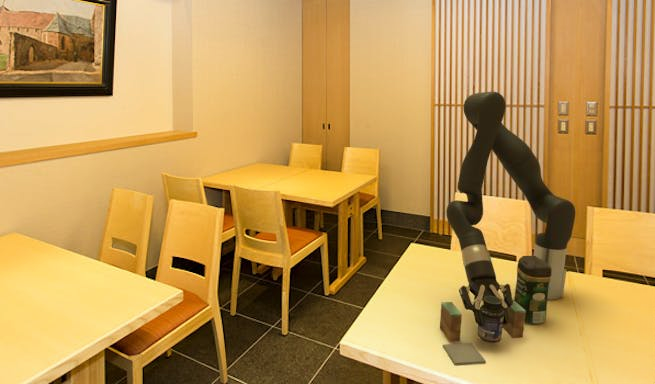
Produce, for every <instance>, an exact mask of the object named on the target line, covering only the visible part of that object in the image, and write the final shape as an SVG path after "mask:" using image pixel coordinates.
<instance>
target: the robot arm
mask: <svg viewBox="0 0 655 384" xmlns="http://www.w3.org/2000/svg"><path fill="white" fill-rule="evenodd" d="M506 105H507V104H506V100H505V97H504V96H503V95H502V94H501V93H500V92H497V91H486V92H477V93H473V94H470V95H469V96H468V97H466V99H465V101H464V103H463V113H464V114H463V115H465V118H466V120H467V121H468V122H469V123H470V125H472V127H473V128H474V129H475V130H476V133H475V137H474V139H473V141H472V144H471V145H470V148H469V149H468V151H467V153H466V154H465V157H464V158H463V160H462V163H461V166H460V167H461V168H460V171H459V176H458V182H457V190H458V191H459V192H460V193H461V194H465V195H466V199H467V201H464V200H452V201H450V202H449V204H448V205H447V207H446V210H445V211H446V212H445V213H446V214H445V215H446V217H447V218H446V219H447V221H448V223H449V225H450V227H451V229H452V230H453V232H454V234H455V236H456V237H457V239H458V242H459V247H460V251H461V258H462V259H461V260H462V265H463V267H464V271H465V274H466V278H467V279H466V280H467V283H468V285H467V286H465V285H462V286H461V287H459V288H458V293H459V296H460V298H461V301H462V304H463V307H464V309H465V310H467V311H468V310H469V311H471V312H472V313H473V316H474V321H475V323H476V324H477V326H478V325H479V326H482V325H484V321H483V317H482V313H481V310H479V309H480V307H481V305H482V302H483V298H484V297H485V296H495V297H498V298H500V299H501V300H502V307H501V308H502V309H503V311H504V319H503V325H506V324H508V323H509V321H510V318H509V314H508V311H507V308H509V307H510V306H512V305H513V300H514V299H513V295H512V290H511V289H512V288H511V285H510V284H509V283H506V284H499V282H498V281H497V275H496V272H495V268H494V264H493V261H492V257H491V254H490V253H489V250H488V247H487V243H486V240H485V236H484V233H483V232H482V230H481V229H479V228H477V227H475V226H476V225H478V224H479V223H480V222H481V220H482V219H483V216H484V203H483V184H484V180H485V175H486V170H487V166H488V161H489V158H490V155H491V152H493V154H494V155H495V156H496V157H497V159H498V161H499V162H500V163H501V165H502V166H503V168H504V169H505V171H506V172H507V174H508V175H509V176H510V178H511V179H512V180H513V182H514V183H515V185H516V186H517V187H518V188H519V190H520V191H521V192H522V193H523V195H524V197H525V198H526V201H527V202H528V204H529V206H530V208H531V210H532V212H533V214H534V216H535V217H536V218H537V219H539V220H540V221H541V222H543V223H545V224H546V225H545V228H544V229H545V230H544V232H540V233H538V234H536V235H535V240H534V241H535V242H534V249H533V256H536V257H538V258H539V259H541V260H543V261H544V262H546V263H547V264H548V265H549V266H550V267H551V269H552V271H551V279H550V282H549V287H548V297H547V301H548V300H551V301H553V300H554V301H555V300H558V299H560V298H563V297H564V291H565V284H566V277H567V269H566V268H565V263H566V257H567V256H566V255H567V248H568V243H569V242H570V241H571V238H572V235H573V230H574V226H575V219H576V207H575V205H574V203H573V202H572V201H571V200H567V199H566V198H562V197H560V196H557V195H555V194H554V193H553V192H552V191H551V190H550V189H549V188H548V186H547V185H546V183H545V182H544V181H543V178H542V170H541V169H542V168H541V165H540V162H539V159H538V158H537V156H536V154H535V153H534V152H533V150H532V149H531V148H530V147H529V145H528V144H527V142H525V141H524V140H523V139H522V138H520V137H519V136H518V135H516V134H515V133H514V132H512V131H511V130H510V129H508V128H507V127H506V126H505V125H504V123H502V122H503V119H504V117H505V113H506V108H507V106H506ZM499 291H500V292H499ZM470 293H471V294H472V295H473V301H472V300H471V297H470V295H469V294H470ZM500 293H501V294H502V295H501V294H500ZM559 297H560V298H559ZM503 299H504V301H503ZM512 299H513V300H512Z"/></svg>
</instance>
